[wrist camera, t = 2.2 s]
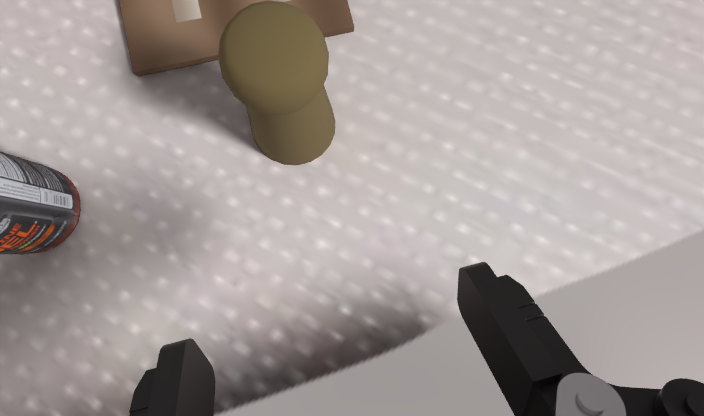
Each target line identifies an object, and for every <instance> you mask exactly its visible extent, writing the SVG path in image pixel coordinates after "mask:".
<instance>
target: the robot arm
mask: <svg viewBox="0 0 704 416" xmlns="http://www.w3.org/2000/svg"><path fill="white" fill-rule="evenodd" d="M457 300H458V306H459V309H460V312H461V315H462V317H463V319H464V321H465V323H466V325H467V327H468V329H469V330H470V332H471V334H472V336H473V338H474V340H475V342H476V344H477V346H478V347H479V349H480V351H481V353H482V355H483V357H484V359H485V360H486V362H487V364H488V366H489V368H490V370H491V372H492V373H493V376H494V377H495V379H496V381H497V383H498V385H499V387H500V389H501V391H502V393H503V394H504V396H505V398H506V400H507V402H508V404H509V406H510V407H511V409H512V411H513V413H514V415H515V416H704V384H703V383H701V382H698V381H695V380H690V379H674V380H671V381H669V382H668V383H666V385H665V386H664V387H663V388H662V389H647V388H630V387H619V386H615V385H612V384H609V383H606V382H605V381H603V380H602V379H600V378H598V377H596V376H593V375H592V374H591V373H589V372H588V371H587V370H586V369H585V368H584V367H583V366H582V365H581V363H580V362H579V361H578V359H577V358H576V357H575V355H574V354H573V353H572V351H571V350H570V349H569V347H568V346H567V345H566V344H565V342H564V341H563V339H562V338H561V337H560V335H559V334H558V332H557V331H556V330H555V328H554V327H553V326H552V324H551V323H550V322H549V320H548V319H547V318H546V317H545V316H544V314H543V312H542V311H541V309H540V308H539V307H538V305H537V304H535V303H534V300H533V299H532V297H531V296H530V295H529V293H528V292H527V291H526V289H525V288H524V286H522V285H521V284H520V283H518V282H517V281H515V280H514V279H512V278H511V277H510V276H508V275H504V276H500V277H496V275H495V274H494V272H493V271H492V269H491V268H490V266H489V265H488V264H487V263H486V262H481V263H477V264H473V265H470V266H466V267H462V268H460V269H459V279H458V296H457ZM214 398H215V375H214V371H213V368H212V365H211V364H210V362H209V361H208V359H207V358H206V357H205V355H204V354H203V352H202V351H201V349H200V348H199V347H198V345H197V344H196V342H195V341H194V340H193V339H191V338H190V339H186V340H182V341H179V342H175V343H171V344H167V345H164V346H163V347H162V348H161V350H160V353H159V358H158V363H157V368H154V369H151V370H147V371H146V372H145V374H144V375H143V377H142V379H141V380H140V382H139V384H138V386H137V387H136V389H135V391H134V394H133V399H132V403H131V407H130V411H129V412H130V416H213V412H214Z"/></svg>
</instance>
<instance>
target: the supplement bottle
mask: <svg viewBox="0 0 704 416" xmlns="http://www.w3.org/2000/svg"><path fill="white" fill-rule="evenodd" d="M80 211H81V210H80V198H79V194H78V191H77V189H76V187H75V186H74V184H73V183H72V182H71V181H70V180H69V179H68V178H67V177H66V176H65V175H63V174H62V173H60V172H58V171H56V170H54V169H52V168H49V167H46V166H43V165H41V164H37V163H34V162H31V161H28V160H25V159H22V158H19V157H15V156H13V155H9V154H6V153H3V152H0V254H31V253H39V252H43V251H47V250H49V249H51V248H54V247H56V246H58V245H59V244H60V243H62V242H63V241H64V240H65V239H66V238H67V237H68V236H69V235H70V234H71V233H72V231H73V230H74V228H75V227H76V224H77V223H78V221H79V215H80Z"/></svg>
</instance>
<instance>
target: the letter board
mask: <svg viewBox="0 0 704 416" xmlns="http://www.w3.org/2000/svg"><path fill="white" fill-rule="evenodd" d="M262 1H279V2H284V3H286V4H289V5H292V6H294V7H297V8H299V9H301V10H302V11H303V12H305V13H306V14H307V15H308V16H310V17H311V18H312V19H313V20H314V22H315V23H316V25H317V26H318V28H319V29H320V30H321V32H322V34H323V36H324V37H329V36H334V35H339V34H344V33H349V32H353V31H354V24H353V20H352V17H351V13H350V9H349V6H348V2H347V0H119V3H120V8H121V13H122V18H123V23H124V28H125V33H126V38H127V43H128V48H129V53H130V58H131V63H132V68H133V72H134V73H135V74H136V75H137V76H141V75H146V74H150V73H155V72H160V71H165V70H170V69H175V68H179V67H184V66H189V65H194V64H199V63H204V62H208V61H213V60H218V59H219V58H218V52H219V42H220V38H221V36H222V33H223V31H224V29H225V27H226V25H227V23H228V22H229V21H230V20H231V19H232V18H233V17H234V16H235V15H236V14H237V13H238V11H240V10H242V9H243V8H245V7H247V6H249V5H251V4H253V3H258V2H262Z"/></svg>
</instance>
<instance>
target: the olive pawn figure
mask: <svg viewBox="0 0 704 416" xmlns="http://www.w3.org/2000/svg"><path fill="white" fill-rule="evenodd" d="M218 58H219V64H220V68H221V72H222V76H223V79H224V80H225V82H226V83H227V85H228V86H229V88H230V89H231V91H232V92H233V94H234V95H235V97H237V98H238V99H239V100H240V101H242V102H243V103H244V104H245V105H246V106H247V111H248V115H249V120H250V124H251V129H252V132H253V136H254V140H255V142H256V144H257V145H258V147H259V148H260V150H261V151H262V152H263V153H264V154H265V155H267V156H268V157H269V158H270V159H272V160H274V161H277V162H279V163H282V164H286V165H300V164H304V163H308V162H311V161H313V160H314V159H316V158H318V157H319V156H321V155H322V154H323V153H324V152H325V150H326V149H327V148H328V147H329V146H330V144H331V141H332V139H333V136H334V134H335V118H334V114H333V110H332V107H331V104H330V102H329V99H328V96H327V93H326V90H325V88H324V82H325V80H326V77H327V75H328V59H329V52H328V49H327V45H326V42H325V38H324V36H323V34H322V32H321V30H320V29H319V28H318V26H317V25H316V23H315V22H314V20H313V19H312V18H311V17H310V16H308V15H307V14H306V13H305V12H303V11H302V10H301V9H299V8H297V7H294V6H292V5H289V4H286V3H284V2H279V1H262V2H258V3H253V4H251V5H249V6H247V7H245V8H243V9H242V10H240V11H238V13H237V14H236V15H235V16H234V17H233V18H232V19H231V20H230V21H229V22H228V23H227V25H226V27H225V29H224V31H223V33H222V36H221V38H220V42H219V52H218Z"/></svg>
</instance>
